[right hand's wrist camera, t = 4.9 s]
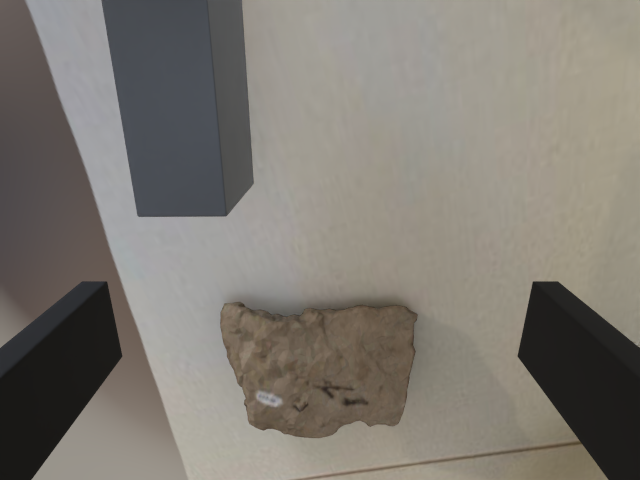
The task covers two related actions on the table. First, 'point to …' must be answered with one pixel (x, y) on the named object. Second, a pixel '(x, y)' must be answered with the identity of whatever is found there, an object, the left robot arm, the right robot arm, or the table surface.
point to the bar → (182, 103)
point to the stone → (320, 366)
